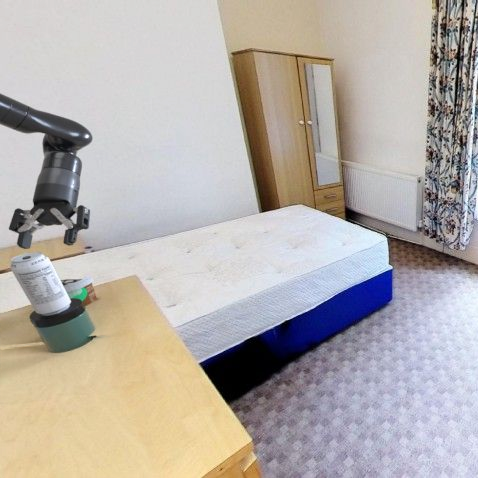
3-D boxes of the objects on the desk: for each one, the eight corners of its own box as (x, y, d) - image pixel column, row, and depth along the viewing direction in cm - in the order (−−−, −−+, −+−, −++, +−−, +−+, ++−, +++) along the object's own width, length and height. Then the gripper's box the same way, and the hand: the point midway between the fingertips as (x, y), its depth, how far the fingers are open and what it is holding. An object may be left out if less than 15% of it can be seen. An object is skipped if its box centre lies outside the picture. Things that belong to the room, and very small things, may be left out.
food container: (38, 321, 91) (20, 292, 87) (54, 308, 96) (38, 280, 92) (91, 314, 94) (77, 286, 90) (104, 302, 99) (91, 275, 95)
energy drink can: (72, 299, 84) (46, 248, 78) (72, 309, 80) (45, 257, 74) (38, 309, 80) (7, 256, 74) (37, 320, 76) (4, 265, 70)
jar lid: (21, 328, 76) (17, 321, 76) (54, 305, 85) (51, 299, 84) (66, 325, 78) (62, 318, 77) (94, 303, 86) (91, 297, 85)
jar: (37, 355, 80) (18, 324, 76) (66, 330, 88) (50, 301, 84) (81, 350, 81) (65, 320, 78) (105, 326, 90) (92, 298, 86)
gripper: (9, 183, 79) (-7, 244, 74) (81, 180, 83) (71, 238, 78) (35, 197, 86) (22, 254, 81) (101, 194, 90) (93, 248, 85)
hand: (46, 246), depth 79 cm, fingers open, 8 cm apart
